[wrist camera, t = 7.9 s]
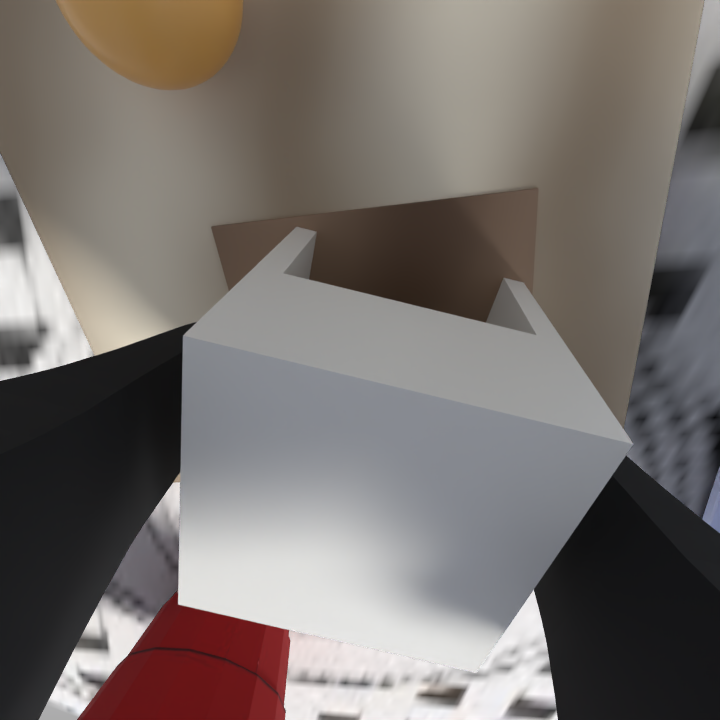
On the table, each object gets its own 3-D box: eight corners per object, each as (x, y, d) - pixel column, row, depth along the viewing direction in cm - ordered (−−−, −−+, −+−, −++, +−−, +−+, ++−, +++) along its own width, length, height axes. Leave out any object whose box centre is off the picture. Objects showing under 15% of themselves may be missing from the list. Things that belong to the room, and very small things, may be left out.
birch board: (752, -498, 6) (829, -636, 5) (600, 445, 14) (616, 473, 13) (-121, -221, 8) (-203, -273, 7) (170, 459, 16) (152, 484, 15)
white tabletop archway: (523, 282, 11) (633, 444, 5) (450, 455, 13) (476, 673, 8) (296, 226, 10) (183, 335, 5) (270, 411, 13) (177, 604, 8)
